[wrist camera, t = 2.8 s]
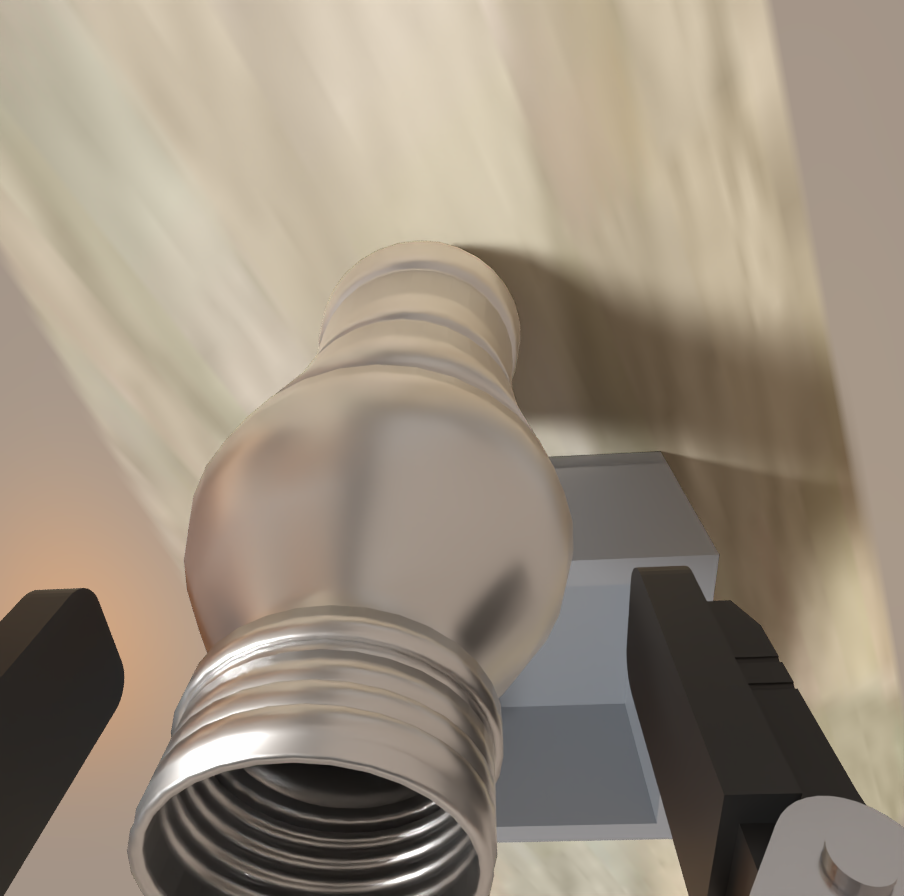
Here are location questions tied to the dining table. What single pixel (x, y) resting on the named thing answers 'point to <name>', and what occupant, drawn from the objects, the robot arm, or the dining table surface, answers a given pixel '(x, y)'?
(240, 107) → the dining table surface
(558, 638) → the box
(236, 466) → the plastic bottle
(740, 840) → the robot arm
